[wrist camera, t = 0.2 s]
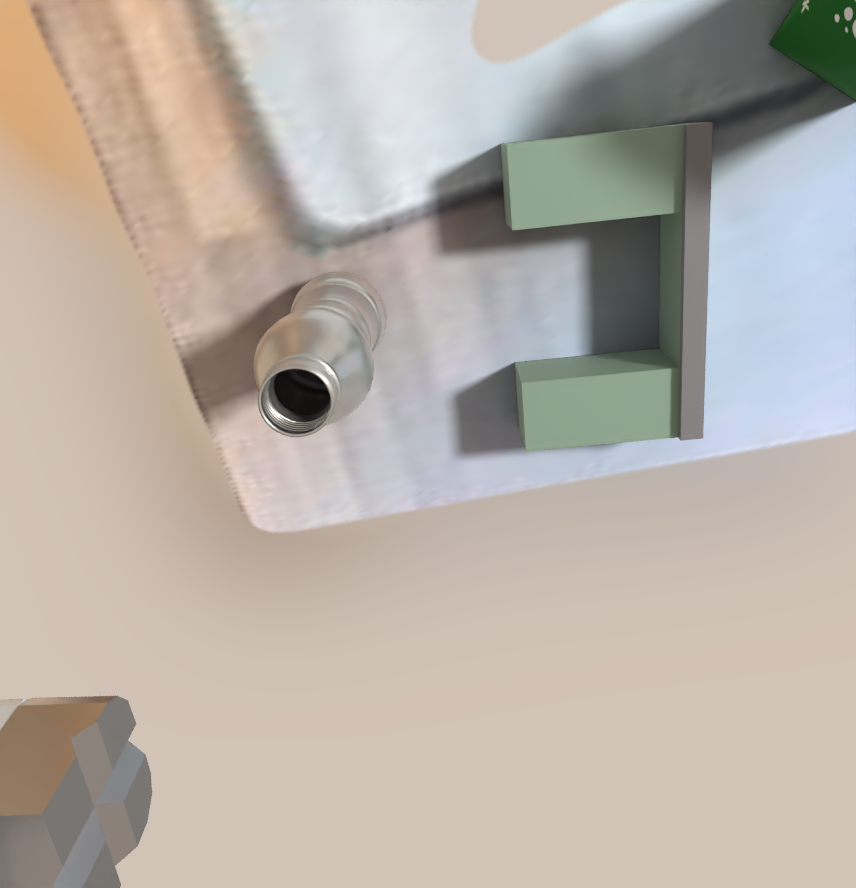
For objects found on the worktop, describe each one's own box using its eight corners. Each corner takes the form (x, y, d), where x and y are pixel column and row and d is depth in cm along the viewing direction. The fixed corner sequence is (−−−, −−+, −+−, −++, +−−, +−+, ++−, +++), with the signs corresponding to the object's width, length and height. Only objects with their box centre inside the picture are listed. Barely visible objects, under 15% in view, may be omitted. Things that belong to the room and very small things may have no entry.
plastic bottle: (277, 301, 55) (196, 387, 36) (353, 246, 53) (309, 306, 35) (332, 373, 57) (282, 489, 38) (407, 321, 55) (393, 416, 37)
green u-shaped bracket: (500, 143, 51) (507, 145, 45) (684, 123, 50) (713, 121, 45) (518, 425, 58) (526, 454, 53) (678, 410, 57) (702, 438, 52)
